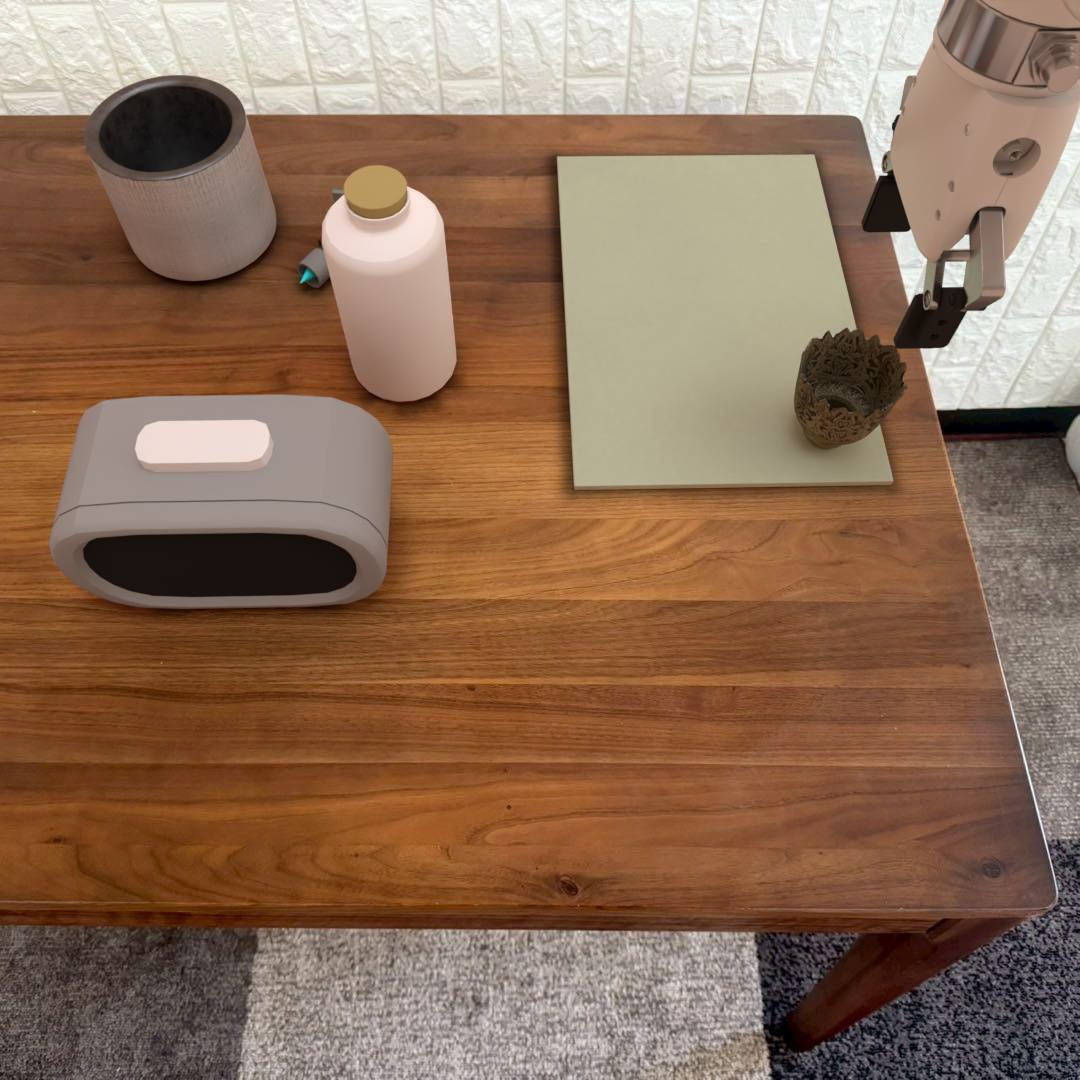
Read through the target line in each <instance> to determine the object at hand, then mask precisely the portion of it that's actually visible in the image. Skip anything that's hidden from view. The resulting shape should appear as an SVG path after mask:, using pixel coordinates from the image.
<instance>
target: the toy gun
mask: <svg viewBox="0 0 1080 1080" xmlns="http://www.w3.org/2000/svg"><path fill="white" fill-rule="evenodd" d="M331 194H332V198H333V204H334V203H335V202H336V201H337V200H338V199H339V198H340V197H341V196H343V195H344V189H339V188H333V189H332V191H331ZM317 243H318V246H319V247H315V248H314V249H313V250H311V251H310V252H309V253H308V254H307V255H306V256H305V257H304V258H303V259H302V260H301V261H299V263H298V264H297V265H296V270H297V273H298V275H299V276H300V278H301V280H300V282H299V284H303V283H306V284H307V285H309V286H310V287H312V288H315V289H319V288H320V287H321V286H322V285H324V283H325V282H326V281H328V280H329V279H330V274H329V270H328V266H327V262H326V258H325V254H324V250H323V246H322V235H321V236H320V237H319V238H318V239H317Z"/></svg>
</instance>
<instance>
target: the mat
mask: <svg viewBox="0 0 1080 1080" xmlns="http://www.w3.org/2000/svg"><path fill="white" fill-rule="evenodd" d="M556 170H557V171H556V173H557V192H558V210H559V229H560V232H559V233H560V249H561V250H560V251H561V268H562V269H561V270H562V285H563V286H562V289H563V308H564V326H565V327H564V328H565V345H566V346H565V347H566V348H565V349H566V368H567V385H568V403H569V404H568V406H569V422H570V423H569V424H570V426H569V427H570V443H571V460H572V461H571V464H572V481H573V483H572V484H573V491H600V490H601V491H602V490H607V491H608V490H609V491H610V490H664V489H666V490H667V489H670V490H671V489H673V490H674V489H725V488H727V489H728V488H730V489H732V488H735V489H736V488H787V487H791V488H794V487H848V486H849V487H850V486H851V487H852V486H856V487H857V486H892V485H893V483H894V477H893V473H892V469H891V464H890V460H889V456H888V452H887V448H886V444H885V440H884V435H883V431H882V427H881V423H880V424H879V425H878V426H877V427H876V428H875V429H874V430H873V431H872V432H871V433H870V434H869V435H868V436H866V437H865V438H863V439H861V440H859V441H857V442H855V443H851V444H846V445H842V446H840V447H838V448H835V449H829V450H828V449H821V448H818V447H816V446H814V445H813V444H811V443H810V442H809V441H808V440H807V438H806V437H805V435H804V432H803V428H802V426H801V425H800V423H799V422H798V420H797V417H796V414H795V409H794V394H795V387H796V382H797V377H798V372H799V367H800V362H801V356H802V353H803V351H805V349H806V347H807V345H808V343H809V342H810V340H811V339H812V338H820V339H822V337H823V336H824V334H825V333H826V332H827V331H828V330H829V331H830V333H831V335H832V337H834V336H835V334H836V333H839V332H841V331H842V330H843V329H845V328H848V329H849V331H850V332H852V331H853V330H857V329H858V328H857V325H856V324H857V323H856V319H855V316H854V312H853V308H852V303H851V300H850V299H851V298H850V296H849V295H850V294H849V292H848V287H847V283H846V279H845V276H844V270H843V267H842V263H841V258H840V254H839V250H838V246H837V242H836V238H835V234H834V230H833V226H832V220H831V217H830V213H829V209H828V204H827V200H826V196H825V192H824V187H823V184H822V179H821V175H820V172H819V168H818V163H817V160H816V156H815V154H707V155H706V154H704V155H703V154H698V155H697V154H696V155H695V154H694V155H690V154H689V155H686V154H685V155H683V154H682V155H681V154H680V155H570V156H569V155H568V156H567V155H566V156H565V155H564V156H563V155H562V156H561V155H559V156H558V155H557V156H556Z"/></svg>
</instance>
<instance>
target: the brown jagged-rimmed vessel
mask: <svg viewBox="0 0 1080 1080" xmlns="http://www.w3.org/2000/svg"><path fill="white" fill-rule="evenodd" d="M881 343H882V341H881V338H880V336H879V334H878V333H875V334H873V335H871V336H870V337H869V338H868V339H867V340H866V335H865V332H864V331H863V330H862V329H860V328H857V330H853V331H852V332H850V331H849V329H848V328H845V329H843V330H842V331H841V332H839V333H836V334H835V336H834V337H832V335H831V333H830V331H829V330H828V331H827V332H826V333H825V334H824V336H823V337H822V339H820V338H812V339H811V340H810V342H809V343H808V345H807V347H806V349H805V351H803V353H802V356H801V362H800V367H799V372H798V377H797V382H796V387H795V394H794V409H795V414H796V417H797V420H798V422H799V423H800V425H801V426H802V428H803V432H804V435H805V437H806V438H807V440H808V441H809V442H810V443H811V444H813V445H814V446H816V447H818V448H821V449H828V450H829V449H835V448H838V447H840V446H842V445H846V444H851V443H855V442H857V441H859V440H861V439H863V438H865V437H866V436H868V435H869V434H870V433H871V432H872V431H873V430H874V429H875V428H876V427H877V426H878V425H879V424H880V425H881V423H882V422H883V421H884V420H885V418H887V416H888V414H889V413H890V412H891V411H892V409H894V407H895V406H896V405H897V403H898V402H899V401H900V399H901V398H902V397H903V396H904V394H905V393H906V391H907V389H908V388H909V386H908V384H905V380H904V376H905V374H906V372H907V371H908V365H907V362H906V361H901V353H900V352H899V349H898V348H896V347H895V344H881Z"/></svg>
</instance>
